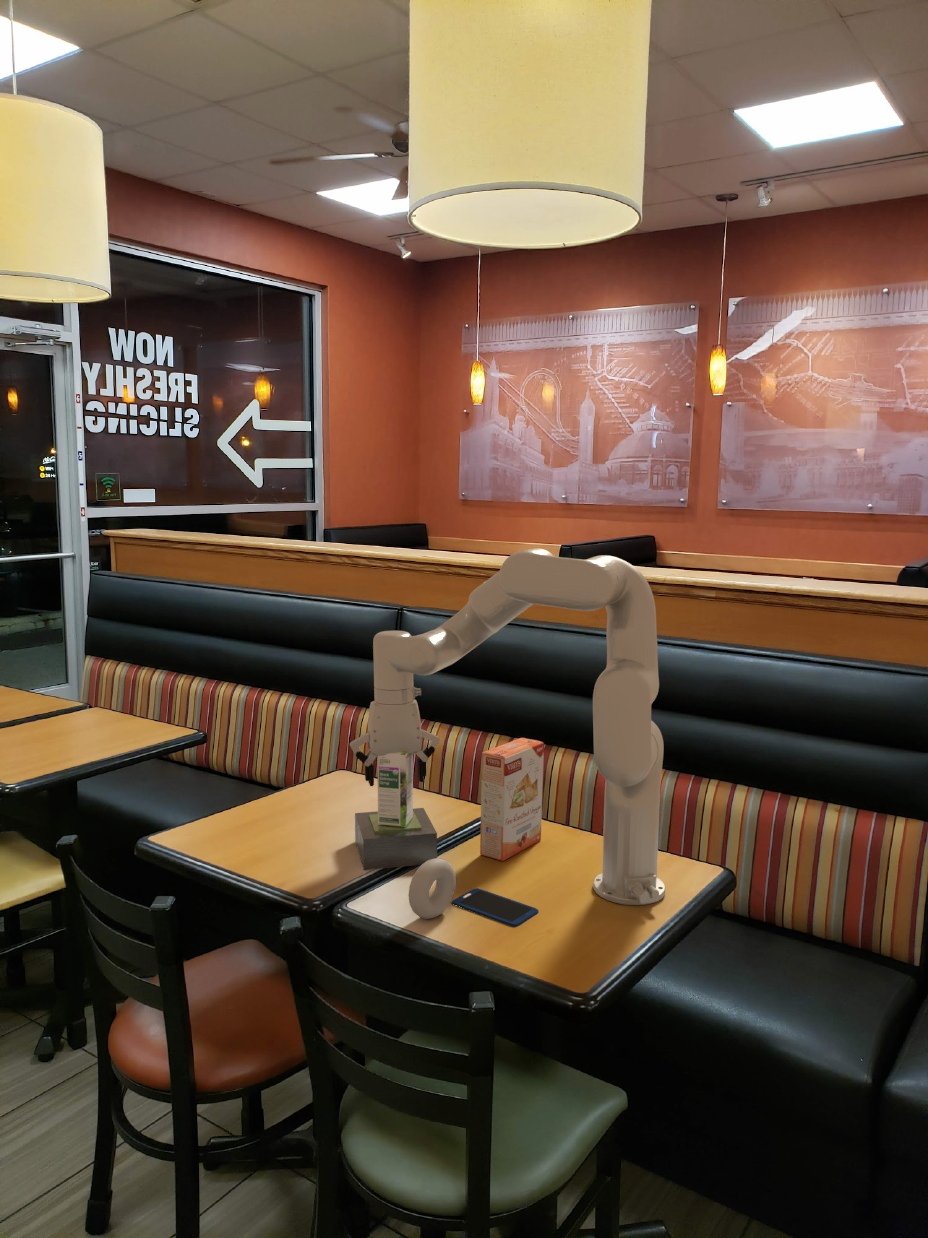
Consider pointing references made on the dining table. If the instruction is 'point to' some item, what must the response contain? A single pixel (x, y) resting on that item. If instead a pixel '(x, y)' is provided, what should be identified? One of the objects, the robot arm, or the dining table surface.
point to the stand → (395, 841)
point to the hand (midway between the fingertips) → (395, 782)
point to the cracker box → (511, 798)
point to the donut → (422, 885)
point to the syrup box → (395, 789)
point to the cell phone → (495, 907)
